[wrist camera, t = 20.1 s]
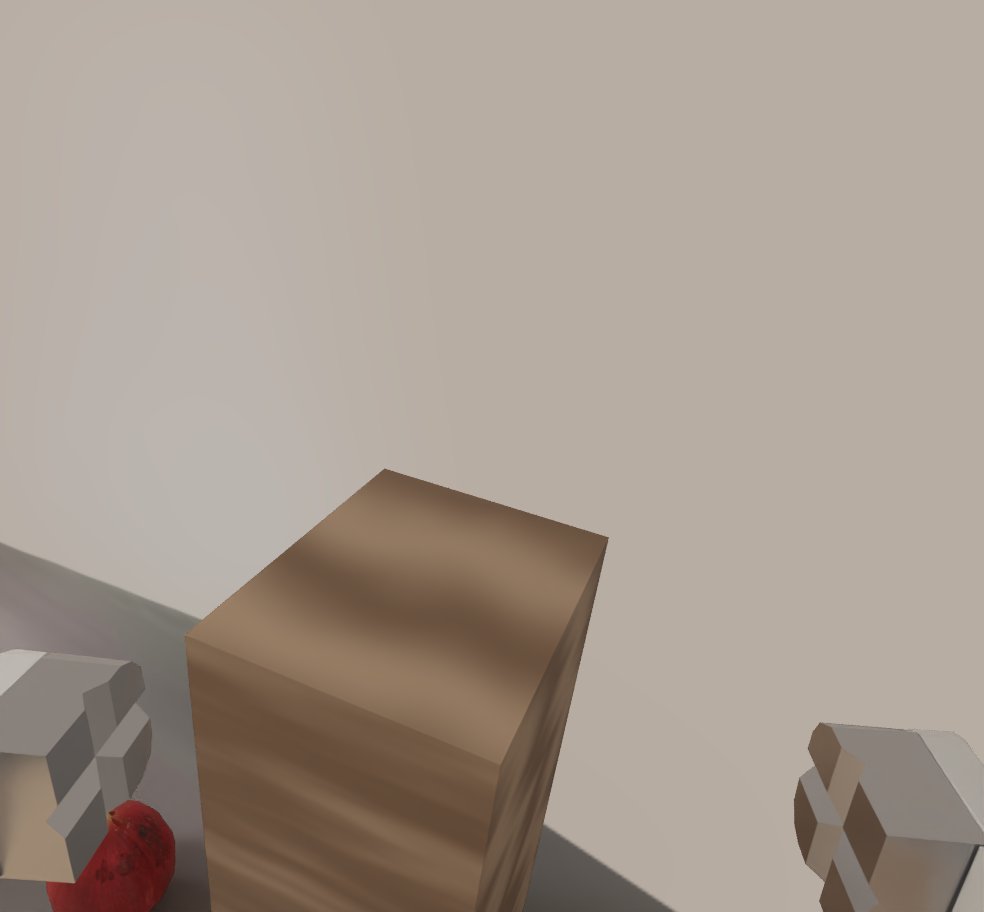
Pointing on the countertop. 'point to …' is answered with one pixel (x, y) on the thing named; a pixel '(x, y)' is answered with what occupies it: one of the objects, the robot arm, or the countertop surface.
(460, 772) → the pedestal
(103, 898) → the red apple
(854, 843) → the robot arm
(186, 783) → the countertop surface
